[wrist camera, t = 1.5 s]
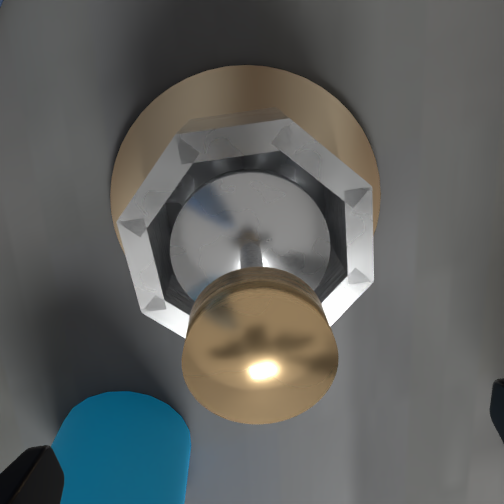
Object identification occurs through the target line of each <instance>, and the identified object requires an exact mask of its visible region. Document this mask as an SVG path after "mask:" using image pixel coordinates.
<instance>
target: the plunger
mask: <svg viewBox="0 0 504 504" xmlns="http://www.w3.org/2000/svg"><path fill="white" fill-rule="evenodd" d="M170 257H171V264H172V267H173V270H174V273H175V275H176V278H177V280H178V282H179V283H180V285H181V287H182V288H183V290H184V291H185V292H186V293H187V294H188V296H189V297H190V298H191V299H193V300H194V301H195V303H194V305H193V307H192V310H191V313H190V317H189V322H188V327H187V333H186V338H185V343H184V349H183V355H182V371H183V376H184V379H185V382H186V385H187V386H188V388H189V390H190V392H191V393H192V395H193V396H194V397H195V399H196V400H197V401H198V402H199V403H200V404H201V405H203V406H204V407H205V408H206V409H208V410H209V411H211V412H213V413H214V414H216V415H218V416H220V417H222V418H225V419H228V420H231V421H235V422H239V423H246V424H269V423H275V422H280V421H283V420H287V419H290V418H292V417H295V416H297V415H299V414H301V413H303V412H305V411H306V410H308V409H309V408H311V407H312V406H313V405H315V404H316V403H317V402H318V401H319V400H320V399H321V398H322V397H323V396H324V395H325V393H326V392H327V391H328V389H329V388H330V386H331V384H332V382H333V380H334V378H335V375H336V372H337V367H338V349H337V345H336V341H335V338H334V336H333V333H332V330H331V328H330V325H329V322H328V320H327V317H326V314H325V312H324V309H323V306H322V304H321V302H320V300H319V298H318V296H317V295H316V293H315V292H314V291H315V289H316V288H317V287H318V285H319V283H320V282H321V280H322V278H323V276H324V274H325V272H326V269H327V266H328V262H329V257H330V235H329V230H328V227H327V223H326V221H325V219H324V216H323V214H322V212H321V211H320V209H319V208H318V206H317V204H316V203H315V201H314V200H313V198H312V197H311V196H310V195H309V194H308V192H307V191H306V190H304V189H303V188H302V187H301V186H300V185H299V184H297V183H296V182H294V181H293V180H291V179H290V178H288V177H286V176H283V175H281V174H279V173H276V172H273V171H268V170H263V169H252V168H248V169H237V170H233V171H228V172H225V173H222V174H219V175H217V176H215V177H213V178H211V179H209V180H208V181H206V182H205V183H203V184H202V185H200V186H199V187H198V188H197V189H196V190H195V191H194V192H193V193H192V194H191V195H190V196H189V197H188V199H187V200H186V201H185V203H184V204H183V206H182V208H181V209H180V212H179V214H178V216H177V218H176V221H175V223H174V226H173V230H172V233H171V239H170Z"/></svg>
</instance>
